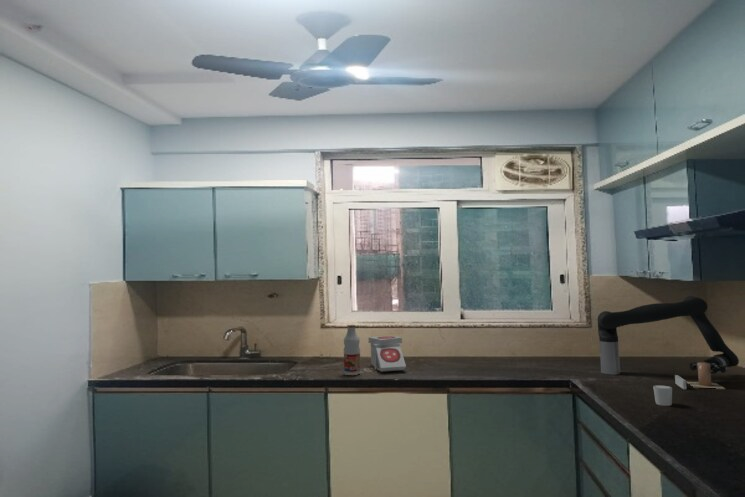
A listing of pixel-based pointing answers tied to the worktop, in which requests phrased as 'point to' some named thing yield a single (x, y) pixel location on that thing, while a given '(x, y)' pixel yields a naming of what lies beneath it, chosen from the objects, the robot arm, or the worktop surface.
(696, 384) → the pad
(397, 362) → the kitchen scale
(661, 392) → the shot glass
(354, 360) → the fruit juice
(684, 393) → the worktop surface
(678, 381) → the wall
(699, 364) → the cylinder
